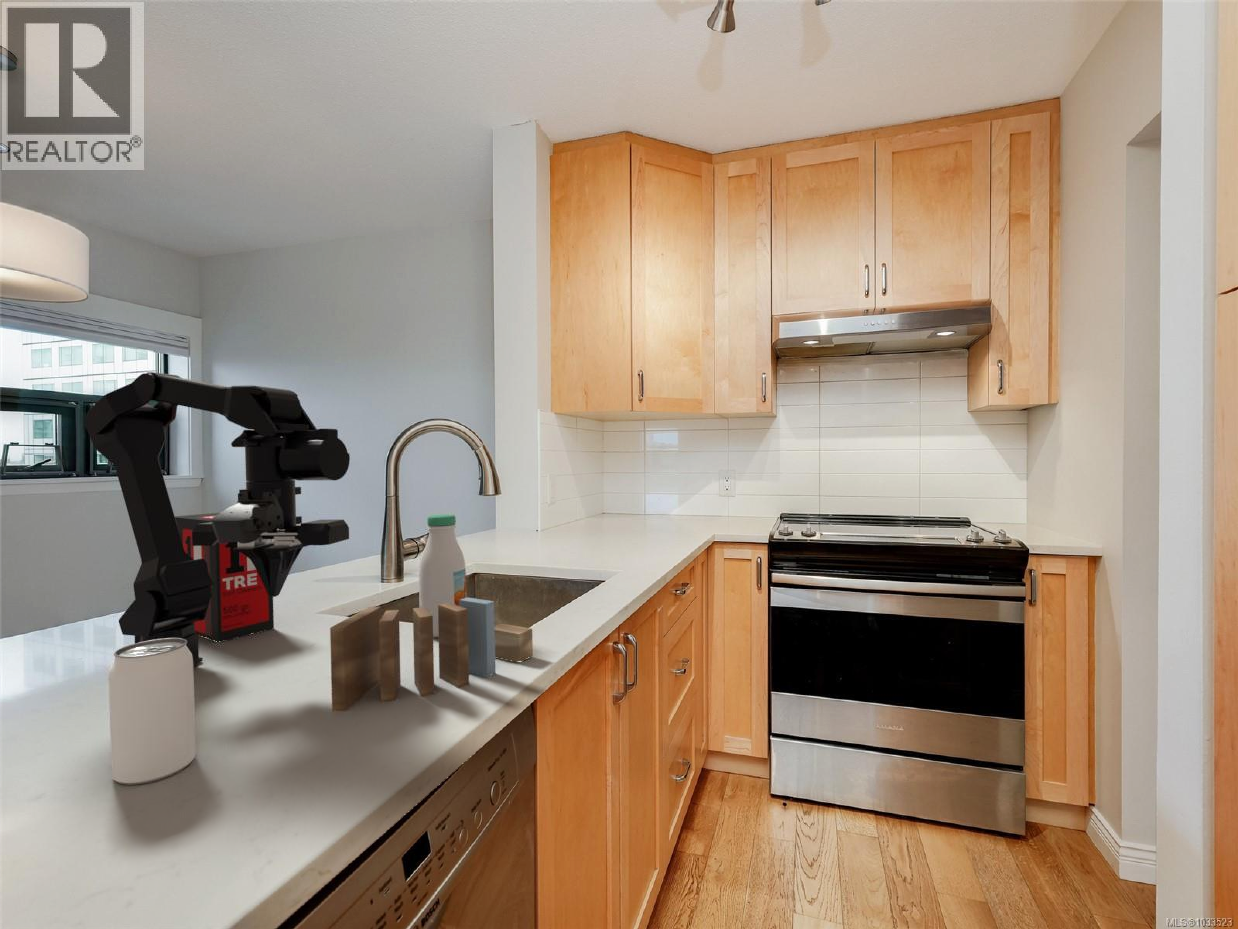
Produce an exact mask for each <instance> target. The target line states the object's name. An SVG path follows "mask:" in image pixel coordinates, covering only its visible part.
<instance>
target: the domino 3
mask: <svg viewBox="0 0 1238 929" xmlns="http://www.w3.org/2000/svg"><path fill="white" fill-rule="evenodd" d="M412 629H413V630H412V632H413V636H412V637H413V670H414V671H413V679H414V686H415V687H416V689H417V691H418V693H419V695H420V697H426V696H430V695H431V696H432V695H435V669H434V667H435V664H434V663H435V662H434V661H435V660H434V659H435V658H434V654H435V653H434V637H433V615H432V614H431V613H430V612H429V611H428V609H427V608H426V607H420V606H419V607H414V608H412Z"/></svg>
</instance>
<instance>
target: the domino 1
mask: <svg viewBox="0 0 1238 929" xmlns="http://www.w3.org/2000/svg"><path fill="white" fill-rule="evenodd" d="M381 607H382V606H368V607H367V608H364V609H363V610H360V611H358V612H357V613H356V614H353V615H352V616H350V617H348V618H346V619H344V620H342V621H341V622H339V623H336V624H334V625H333V626H331V627H329V629H330V630H329V632H330V633H329V634H330V635H329V636H330V637H329V640H330V674H331V675H330V677H331V678H330V680H331V681H330V682H331V711H332V712H346V711H348V710H349V709H350V708H351V707H353V705H355V704H356V703H357V702H358V701H359V700H361V699H362V698H363V697H365V695H367V694H368V693H369V692H370V691H372V689H374V688H375V687H376V686H377V685H379V684H381V680H380V635H379V621H380V619H381V618H382V608H381Z"/></svg>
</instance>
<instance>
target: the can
mask: <svg viewBox="0 0 1238 929" xmlns="http://www.w3.org/2000/svg"><path fill="white" fill-rule="evenodd" d="M186 644H187V640H185V639H182V638H163V639H155V640H149V641H144V642H139V643H135V642H134V643H132V644H129V645H126V646H123V647H121V648H117V650H116V651H114V653H113V656H114V659H113V662H112V663H111V665H110V667H109V670H108V694H109V695H108V700H109V701H108V702H109V703H108V704H109V731H110V733H109V734H110V737H109V738H110V761H111V777H112V779H113V780H114V781H116V782H117V783H118V784H120V785H124V786H138V785H144V784H150V783H154V782H157V781H160V780H163V779H166V778H169V777H172V776H174V775H176V774H178V773H180V772H181V771H183V770H185V769H186V768H187V767H189V765H190V764H191V763H192V761H193V760H194V759H195V757H196V717H195V716H196V713H195V711H196V710H195V709H196V708H195V680H194V677H195V676H194V666H193V657H192V654H191V652H190V650H189V649H188V648H187V646H186Z"/></svg>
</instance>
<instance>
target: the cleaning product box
mask: <svg viewBox="0 0 1238 929" xmlns="http://www.w3.org/2000/svg"><path fill="white" fill-rule="evenodd" d="M219 513H220V512H215V513H214V512H212V513H210V512H209V513H201V514H190V515H189V514H188V515H176V516H175V515H174V516H175V519H176V523H177V526H178V530H179V533H180V537H181V540H182V544H183V547H184V550H185V552H186V553H187V554H188V555H189V556H191V557H192V558H193V559H194V560H197V559H202V558H203V559H204V560H205V561H206V563H207V567H208V573H209V576H210V578H211V580H212V581H213V583H214V584H213V585H211V588H212V598H211V599H210V601H209V605H208V609H207V612H206V616H205V619H204V620H201V621H196V622H193V623H195V634H198V635H200V636H203V637H207V638H209V639H211V640H215V641H217V642H219V641H223V640H227V641H230V639H231V640H234V639H233V638H235V639H237V638H236V637H239V638H243V637H247V636H250V635H249V634H251V633H255V634H258V633H257V632H259V633H261V632H260V631H263V632H265V631H264V630H267V631H271V630H273V629H272V628H275V624H274V623H275V622H274V616H275V615H274V597H269V596H268V594H267V592H266V590H265V587H264V585H263V583H262V581H261V579H260V576H259V574H258V572H257V570H256V568H255V566H254V565H253V563H252V561H251V560H250V559H249V558H248V557H247V556H245V555H244V554H242V553H241V552H235V551H234V549H233V548H236V547H237V542H227V543H225V544H221V543H218V542H217V543H216V544H215V545H212V546H192V532H193V530H194V529H195V527H196V526H197V524H202V523H208V522H211V519H212V518H213V517H214V516H216V515H217V514H219ZM271 542H273V539H271ZM270 629H271V630H270ZM246 635H247V636H246ZM251 635H252V634H251ZM242 636H243V637H242ZM211 640H210V641H211ZM217 642H216V643H217ZM223 642H224V641H223ZM219 643H220V642H219Z"/></svg>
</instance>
